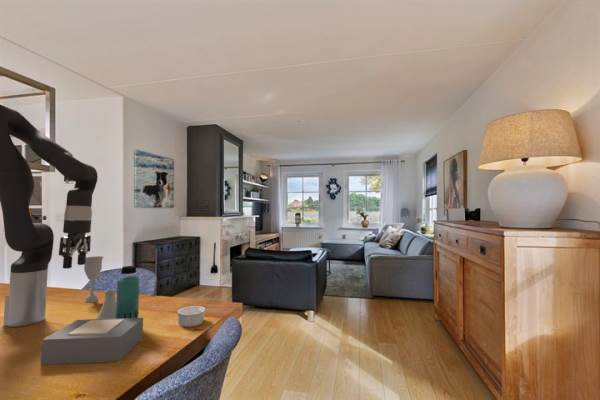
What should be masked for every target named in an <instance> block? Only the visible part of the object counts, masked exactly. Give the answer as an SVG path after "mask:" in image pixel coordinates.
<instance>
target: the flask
mask: <svg viewBox="0 0 600 400" xmlns="http://www.w3.org/2000/svg"><path fill="white" fill-rule="evenodd" d="M103 292H104V295H105V296H104V300H103V304H102V306H101V308H100V310H99V312H98V314H97V316H96V318H95V319H116V317H115V316H116V311H115V310H116V303H117V299H116V296H115V295H116V293H117V289H107V290H104V291H103Z"/></svg>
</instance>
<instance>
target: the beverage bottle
mask: <svg viewBox="0 0 600 400" xmlns="http://www.w3.org/2000/svg"><path fill="white" fill-rule="evenodd" d="M135 273H137V267H136V265H127V266H122V268H121V274H122V275H124V276H122V277H120V278H119V279H118V280H117V281H116V310H115V311H116V316H115V317H116V319H120V318H140V317H139V306H140V305H139V304H140V302H139V301H140V293H141V291H140V281H141V280H140V278H139V276H136V275H129V274H135Z"/></svg>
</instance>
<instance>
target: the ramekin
mask: <svg viewBox="0 0 600 400" xmlns="http://www.w3.org/2000/svg"><path fill="white" fill-rule="evenodd" d="M205 312H206V308H205V307H203V306H200V305H199V306H198V305H191V306H185V307H182V308H179V310H177V318H178V325H179V326H181V327H184V328H187V327H188V328H189V327H195V326H198V325H199V326H200V325H201V324H203V322H204V319H205Z"/></svg>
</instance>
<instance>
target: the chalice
mask: <svg viewBox="0 0 600 400" xmlns="http://www.w3.org/2000/svg"><path fill="white" fill-rule="evenodd" d="M103 259H104V256H86V263H85V264H84V265H83V266H84V267H83V268H84V269H83V270H84V274H85V275H86V278H87V279H88V280H89V281H90V283H89V285H90V288H89V291H90V293H89V294H88V295H86V298H85V299H84V301H83V302H84V303H94V302H98V301H100V300H99V297H98V295H97V294H95V293H94V290H95V287H94V286H95V283H94V282H95V280H96V279H97V278H98V277H99V275H100V273H101V270H102V267H103Z"/></svg>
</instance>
